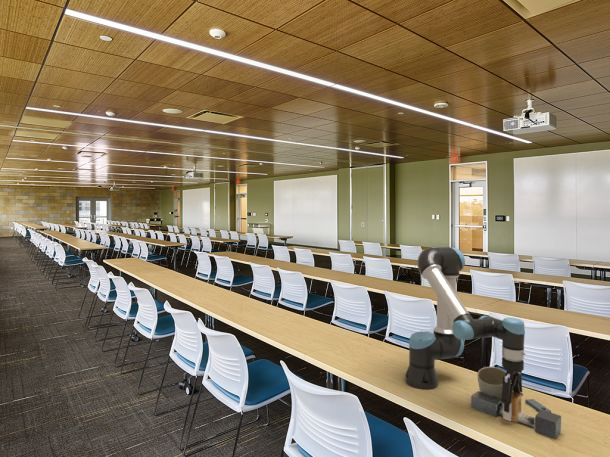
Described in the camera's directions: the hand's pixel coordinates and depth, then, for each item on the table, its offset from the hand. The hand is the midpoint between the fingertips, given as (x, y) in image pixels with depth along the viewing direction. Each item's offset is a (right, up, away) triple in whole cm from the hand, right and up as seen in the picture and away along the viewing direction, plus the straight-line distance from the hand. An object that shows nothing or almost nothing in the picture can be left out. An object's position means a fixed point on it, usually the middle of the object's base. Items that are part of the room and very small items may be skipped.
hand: (511, 415), depth 151 cm
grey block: (-6, -1, +7) cm, 10 cm away
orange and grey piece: (-1, -1, +1) cm, 2 cm away
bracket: (+16, -2, +9) cm, 18 cm away
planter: (0, +1, +14) cm, 14 cm away
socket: (+9, -2, -9) cm, 13 cm away
